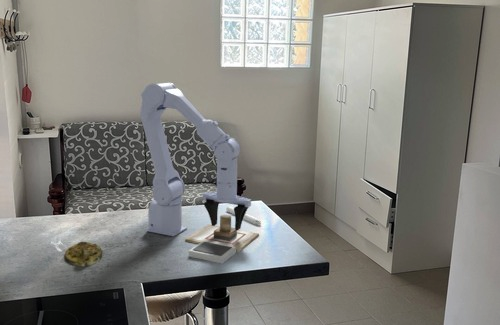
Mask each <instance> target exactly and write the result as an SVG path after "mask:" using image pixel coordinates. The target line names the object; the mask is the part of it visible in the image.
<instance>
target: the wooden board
mask: <svg viewBox="0 0 500 325" xmlns="http://www.w3.org/2000/svg"><path fill="white" fill-rule="evenodd" d="M219 227H220V225H215V226H212V224H207V225H205V226H204V227H202V228H200V229H199V230H197V231H195V232H194V233H193V234H191V235H189V236H188V237H186V238H185V239H184V242H189V243H193V244H197V245H198V244H199V243H201V242H202V241H207V242H212V243H217V244H222V245H227V246H232V247H236V252H241V251H242V250H243V249H244V248H246V247H247V246H248V245H250V243H252V242H253V241H254V240H256V239H257V237H259V236H260V234H259V233H257V232H252V231H247V230H241V229H239V230H237V236H236V237H234V238H233V239H232V240H230V241H226V240H221V239H215V238H214V230H216V229H217V228H219Z"/></svg>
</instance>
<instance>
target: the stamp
mask: <svg viewBox="0 0 500 325" xmlns="http://www.w3.org/2000/svg"><path fill="white" fill-rule="evenodd" d="M219 226H220V227H219V228H217V229H216V230H214V238H215V239H221V240H226V241H230V240H232V239H233V238H234V237H236V236H237V230H235V227H232V216H231V214H222V215H220V216H219Z"/></svg>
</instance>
